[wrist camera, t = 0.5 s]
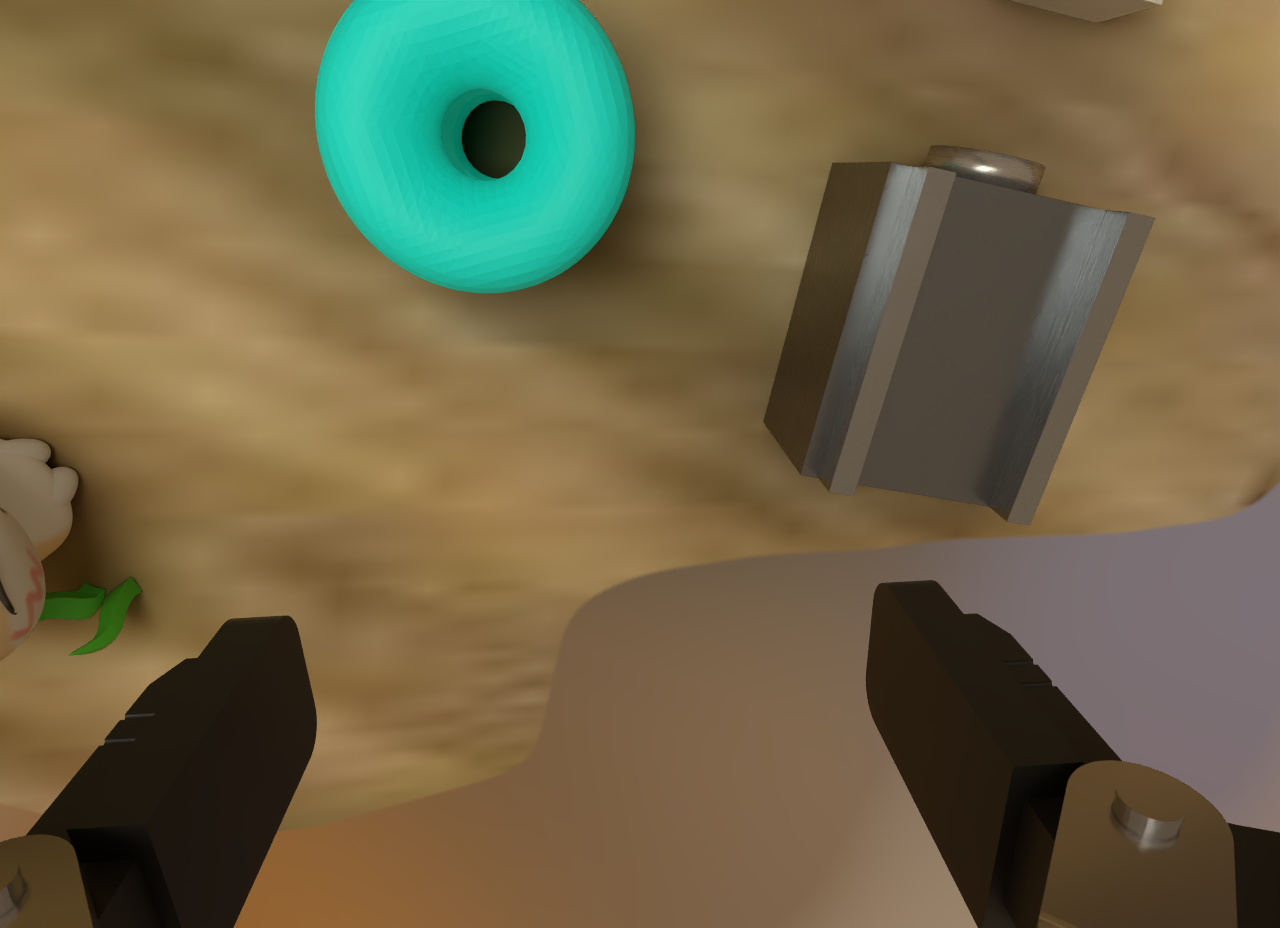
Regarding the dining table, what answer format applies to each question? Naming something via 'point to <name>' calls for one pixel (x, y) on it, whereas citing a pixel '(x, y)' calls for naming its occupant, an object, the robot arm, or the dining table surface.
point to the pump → (1093, 7)
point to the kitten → (44, 550)
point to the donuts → (432, 135)
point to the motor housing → (947, 328)
